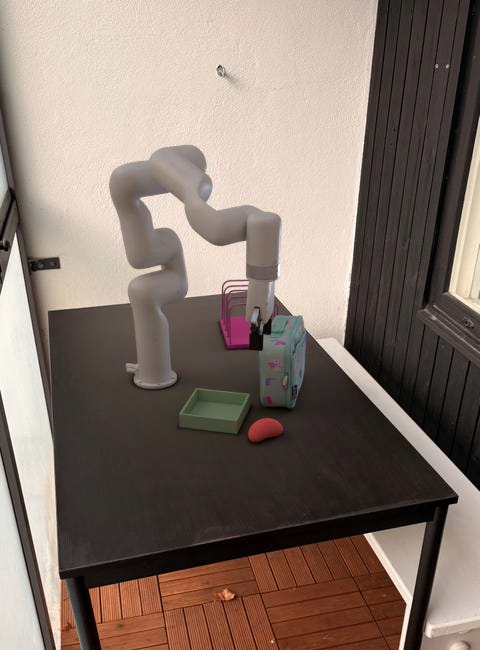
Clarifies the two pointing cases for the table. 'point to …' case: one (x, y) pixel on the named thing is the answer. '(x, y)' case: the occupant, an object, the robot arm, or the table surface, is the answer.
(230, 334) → the file sorter
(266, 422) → the red oval piece
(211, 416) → the tote
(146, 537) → the table surface
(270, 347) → the lunch box
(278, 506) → the table surface
